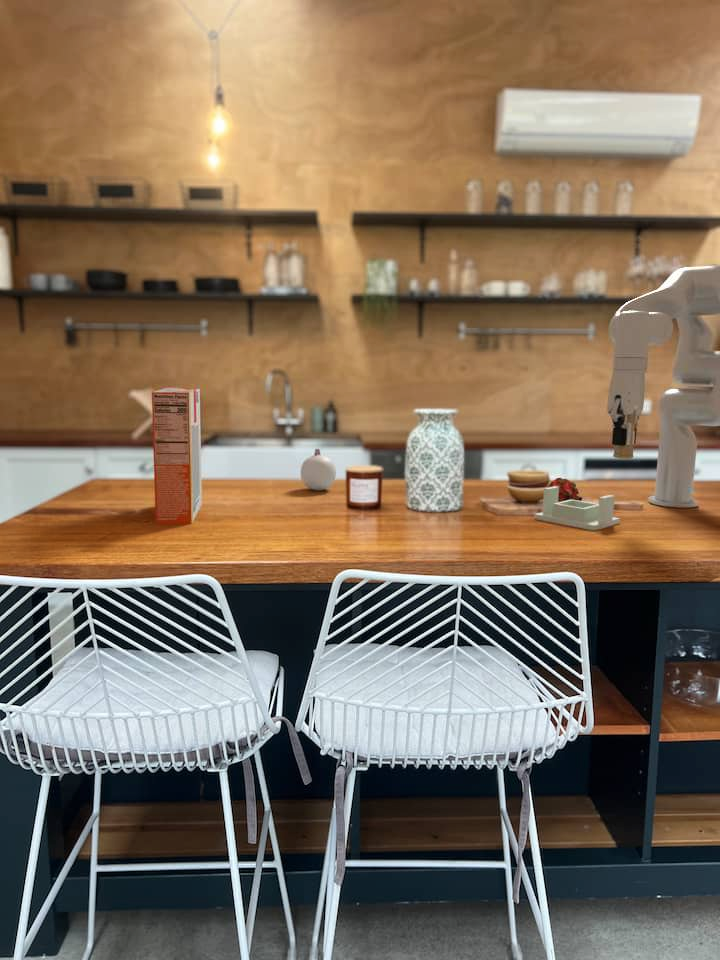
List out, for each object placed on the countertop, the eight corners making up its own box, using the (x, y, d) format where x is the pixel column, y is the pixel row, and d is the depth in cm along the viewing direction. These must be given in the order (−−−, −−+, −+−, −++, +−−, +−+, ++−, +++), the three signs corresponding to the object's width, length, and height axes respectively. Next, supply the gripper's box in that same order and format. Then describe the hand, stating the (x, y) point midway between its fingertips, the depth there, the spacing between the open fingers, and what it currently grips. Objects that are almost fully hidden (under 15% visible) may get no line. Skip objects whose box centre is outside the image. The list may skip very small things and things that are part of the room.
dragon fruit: (557, 508, 200) (569, 524, 188) (534, 490, 198) (544, 505, 187) (578, 484, 198) (591, 499, 186) (555, 466, 196) (567, 480, 185)
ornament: (304, 486, 218) (304, 446, 216) (338, 487, 216) (338, 447, 214) (297, 492, 208) (297, 450, 206) (332, 493, 206) (332, 452, 204)
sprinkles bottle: (637, 458, 171) (641, 401, 168) (625, 459, 168) (630, 401, 166) (620, 456, 174) (624, 399, 172) (608, 457, 172) (612, 400, 169)
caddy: (560, 512, 186) (562, 484, 185) (619, 523, 175) (621, 493, 174) (534, 518, 178) (536, 490, 177) (594, 530, 167) (596, 500, 166)
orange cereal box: (170, 504, 188) (167, 387, 183) (201, 503, 189) (199, 388, 184) (155, 524, 166) (151, 392, 161) (191, 523, 167) (188, 392, 162)
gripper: (629, 366, 176) (623, 440, 179) (597, 365, 164) (592, 445, 167) (660, 366, 171) (654, 443, 174) (630, 366, 159) (623, 448, 162)
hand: (623, 443), depth 171 cm, fingers closed on sprinkles bottle, 4 cm apart
